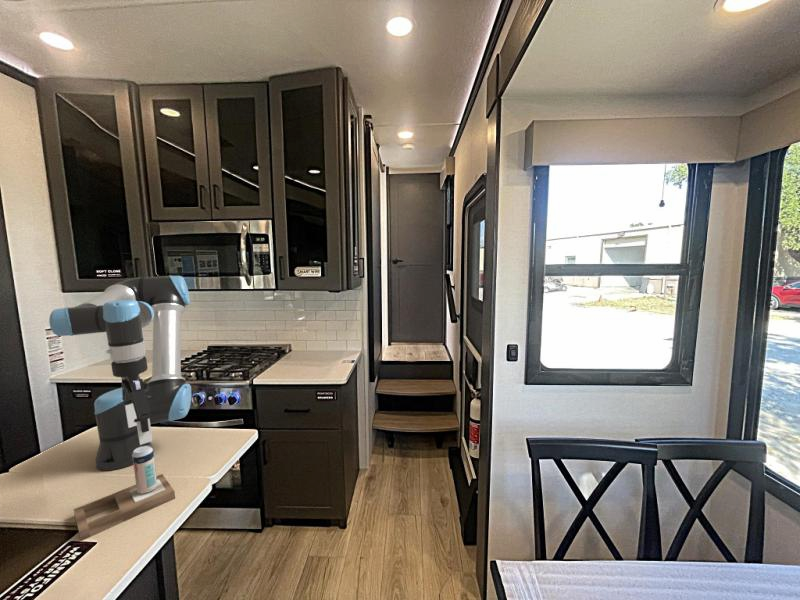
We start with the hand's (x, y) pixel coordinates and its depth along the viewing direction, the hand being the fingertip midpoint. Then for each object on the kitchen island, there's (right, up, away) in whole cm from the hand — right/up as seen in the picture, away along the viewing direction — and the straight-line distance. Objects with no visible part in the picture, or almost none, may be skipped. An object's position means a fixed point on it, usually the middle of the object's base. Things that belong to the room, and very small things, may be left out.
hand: (139, 433), depth 100 cm
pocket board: (-3, -19, -1) cm, 20 cm away
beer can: (+1, -16, +2) cm, 17 cm away
